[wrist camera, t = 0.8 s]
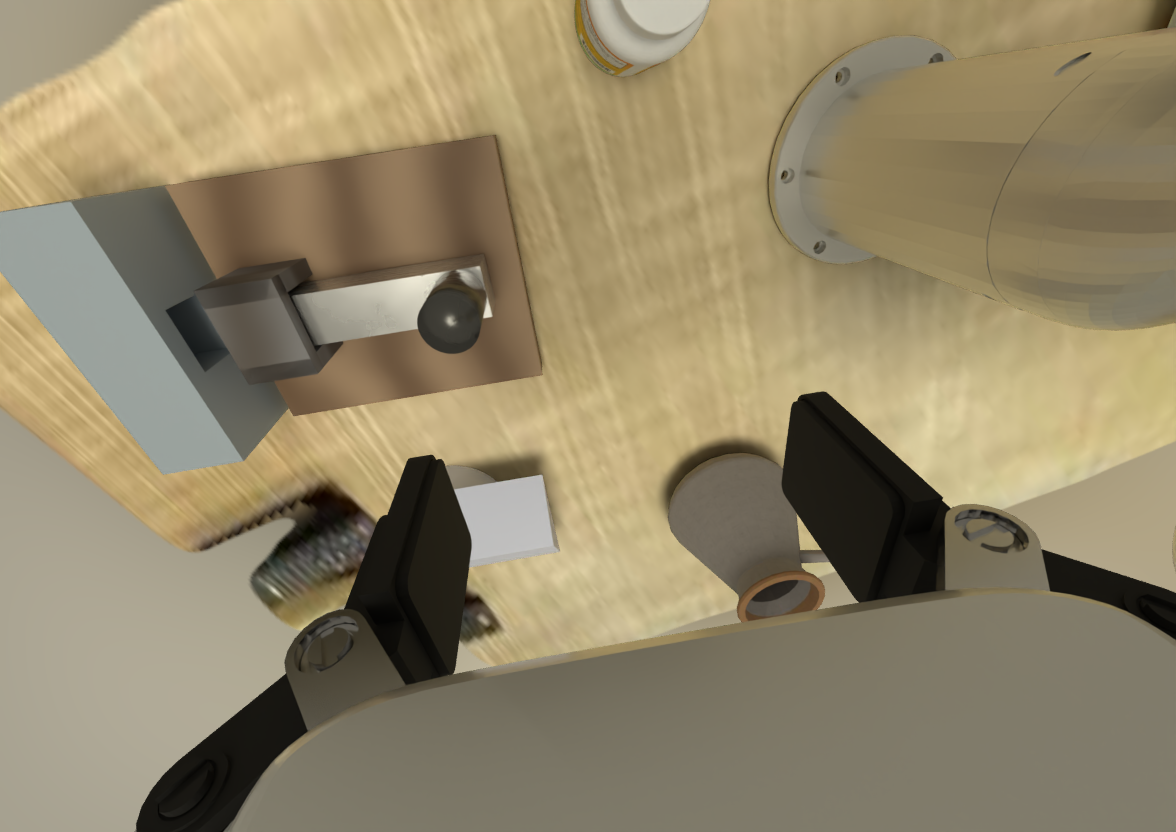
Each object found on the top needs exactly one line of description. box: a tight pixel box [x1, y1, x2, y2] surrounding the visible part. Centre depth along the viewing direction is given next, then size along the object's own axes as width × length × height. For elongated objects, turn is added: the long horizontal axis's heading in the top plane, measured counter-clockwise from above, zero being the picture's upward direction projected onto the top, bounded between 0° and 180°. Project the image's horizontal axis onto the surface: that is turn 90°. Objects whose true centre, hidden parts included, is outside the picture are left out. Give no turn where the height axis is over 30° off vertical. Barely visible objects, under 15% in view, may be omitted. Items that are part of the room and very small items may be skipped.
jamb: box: [0, 185, 289, 474], centre depth 28 cm, size 5×15×7 cm, turn 7°
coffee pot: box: [668, 453, 830, 622], centre depth 38 cm, size 21×12×15 cm, turn 113°
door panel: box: [165, 135, 542, 416], centre depth 29 cm, size 18×15×6 cm
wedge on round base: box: [445, 466, 560, 567], centre depth 39 cm, size 9×7×13 cm
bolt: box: [287, 254, 495, 354], centre depth 26 cm, size 12×3×8 cm, turn 97°
